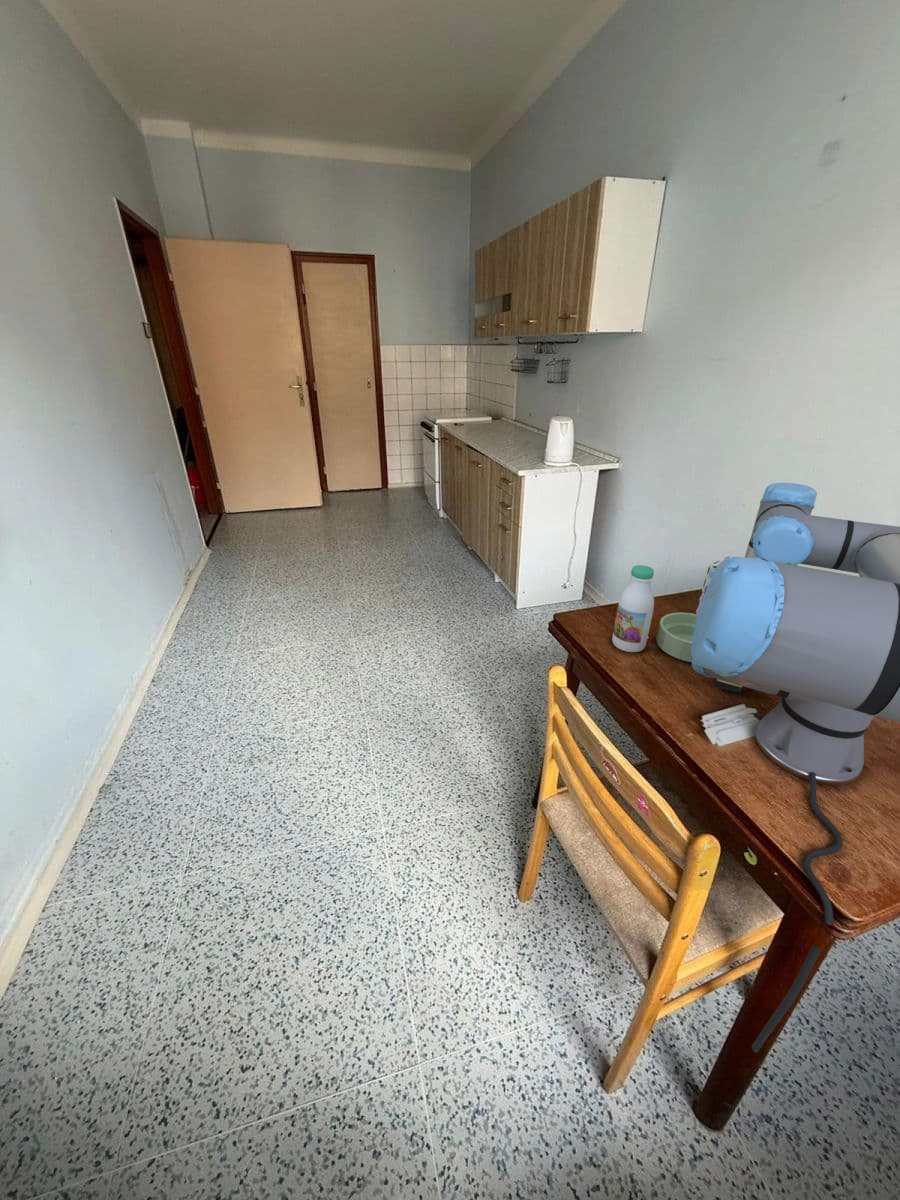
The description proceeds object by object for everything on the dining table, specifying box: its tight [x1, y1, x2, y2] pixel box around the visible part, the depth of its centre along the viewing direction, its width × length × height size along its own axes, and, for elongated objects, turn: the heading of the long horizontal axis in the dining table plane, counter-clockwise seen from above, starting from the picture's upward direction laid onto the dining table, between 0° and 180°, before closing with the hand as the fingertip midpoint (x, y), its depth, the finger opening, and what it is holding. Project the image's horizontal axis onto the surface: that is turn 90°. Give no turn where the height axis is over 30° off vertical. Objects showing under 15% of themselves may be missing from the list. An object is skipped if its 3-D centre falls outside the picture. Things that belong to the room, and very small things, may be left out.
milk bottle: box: [611, 564, 655, 653], centre depth 109 cm, size 8×8×20 cm
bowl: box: [655, 612, 698, 663], centre depth 111 cm, size 14×14×6 cm
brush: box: [714, 678, 743, 694], centre depth 97 cm, size 8×4×9 cm, turn 149°
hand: (731, 670), depth 98 cm, fingers closed on brush, 4 cm apart
